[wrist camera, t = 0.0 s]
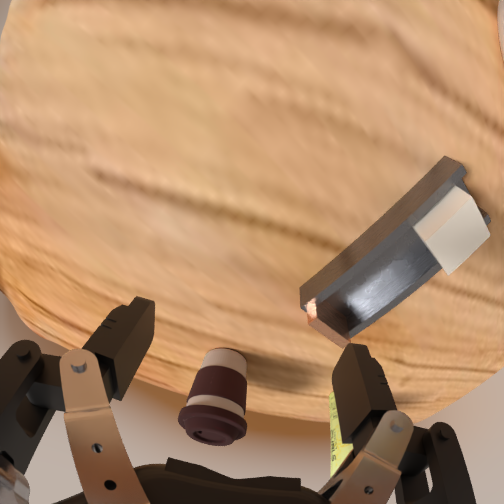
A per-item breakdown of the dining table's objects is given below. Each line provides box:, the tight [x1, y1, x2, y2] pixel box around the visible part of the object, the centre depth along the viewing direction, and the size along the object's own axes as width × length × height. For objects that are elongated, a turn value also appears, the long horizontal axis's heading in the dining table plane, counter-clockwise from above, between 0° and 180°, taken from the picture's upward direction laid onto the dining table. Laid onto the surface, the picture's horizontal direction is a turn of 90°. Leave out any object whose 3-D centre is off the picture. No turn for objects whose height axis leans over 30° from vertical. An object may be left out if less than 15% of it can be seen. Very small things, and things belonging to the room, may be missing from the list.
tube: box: [329, 391, 353, 478], centre depth 41 cm, size 6×5×20 cm
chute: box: [300, 156, 491, 349], centre depth 30 cm, size 25×9×6 cm, turn 140°
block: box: [412, 185, 490, 275], centre depth 26 cm, size 7×6×6 cm
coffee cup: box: [178, 348, 247, 446], centre depth 40 cm, size 10×10×15 cm
